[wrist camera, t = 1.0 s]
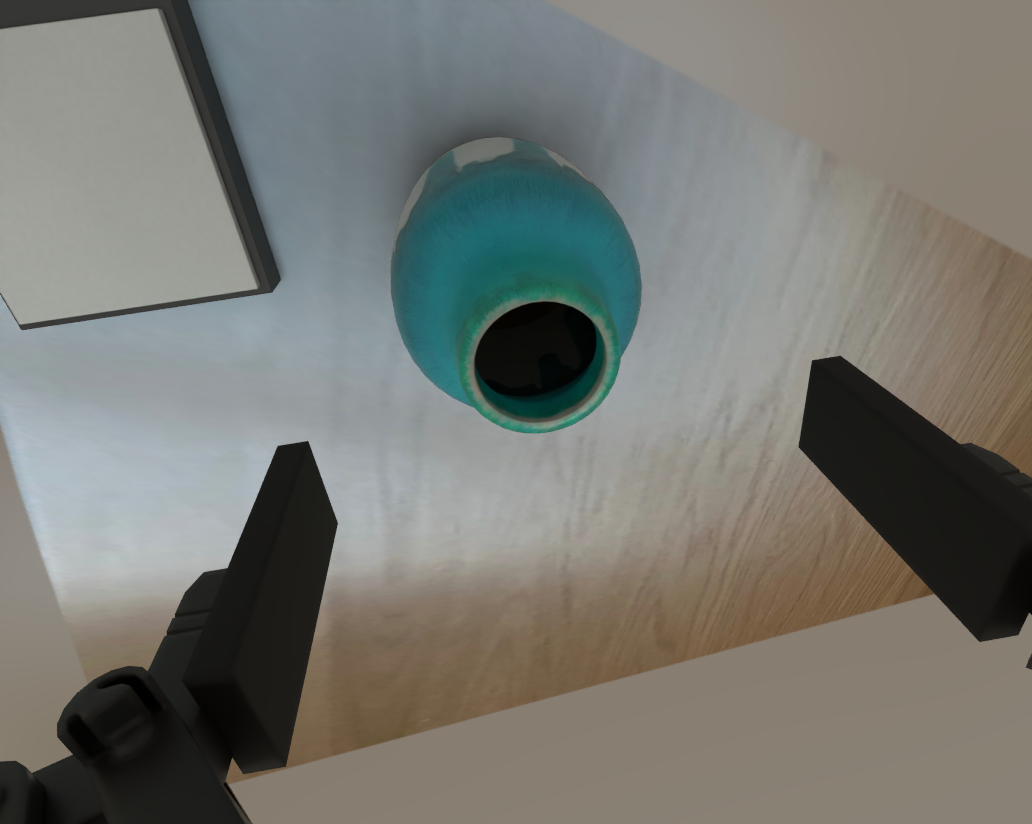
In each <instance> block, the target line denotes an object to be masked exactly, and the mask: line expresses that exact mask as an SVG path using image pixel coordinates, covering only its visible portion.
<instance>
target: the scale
mask: <svg viewBox="0 0 1032 824" xmlns="http://www.w3.org/2000/svg"><path fill="white" fill-rule="evenodd" d="M280 280H281V279H280V276H279V273H278V270H277V267H276V264H275V261H274V258H273V255H272V252H271V249H270V246H269V243H268V240H267V237H266V234H265V231H264V228H263V225H262V222H261V219H260V216H259V213H258V210H257V207H256V204H255V201H254V198H253V195H252V192H251V189H250V186H249V184H248V181H247V178H246V175H245V172H244V169H243V166H242V163H241V160H240V157H239V154H238V151H237V148H236V145H235V142H234V139H233V136H232V133H231V130H230V127H229V124H228V121H227V118H226V115H225V112H224V109H223V106H222V103H221V100H220V97H219V94H218V91H217V88H216V85H215V82H214V79H213V76H212V73H211V70H210V67H209V64H208V61H207V58H206V55H205V52H204V49H203V46H202V43H201V40H200V37H199V34H198V31H197V28H196V25H195V22H194V19H193V16H192V13H191V10H190V7H189V4H188V1H187V0H0V295H1V296H2V298H3V300H4V301H5V303H6V305H7V306H8V308H9V310H10V311H11V313H12V315H13V317H14V318H15V320H16V322H17V323H18V325H19V327H20V328H21V330H27V329H33V328H40V327H47V326H53V325H60V324H66V323H73V322H80V321H86V320H93V319H100V318H106V317H113V316H119V315H126V314H133V313H139V312H146V311H152V310H159V309H166V308H172V307H179V306H185V305H192V304H199V303H205V302H212V301H219V300H225V299H232V298H238V297H245V296H252V295H258V294H265V293H271V292H273V291H274V289H275V288H276V286H277V285H278V283H279V282H280Z"/></svg>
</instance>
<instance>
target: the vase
mask: <svg viewBox="0 0 1032 824" xmlns="http://www.w3.org/2000/svg"><path fill="white" fill-rule="evenodd" d="M641 290H642V283H641V274H640V265H639V262H638V258H637V255H636V251H635V248H634V245H633V242H632V239H631V237H630V235H629V233H628V231H627V229H626V227H625V225H624V223H623V221H622V219H621V217H620V216H619V214H618V213H617V211H616V210H615V209H614V207H613V206H612V204H611V203H610V201H609V200H608V199H607V197H606V196H605V195H604V194H603V192H602V191H601V190H600V189H599V188H598V187H597V186H596V185H595V184H594V183H593V182H592V181H591V180H590V179H589V178H588V177H587V176H586V175H585V174H584V173H582V172H581V171H580V170H579V169H578V168H577V167H575V166H574V165H573V164H571V163H570V162H568V161H567V160H566V159H564V158H563V157H561V156H560V155H558V154H556V153H555V152H553V151H551V150H548V149H546V148H544V147H542V146H540V145H538V144H535V143H531V142H528V141H524V140H520V139H516V138H505V137H493V138H482V139H478V140H475V141H471V142H467V143H465V144H463V145H460V146H458V147H456V148H454V149H452V150H450V151H449V152H447V153H446V154H444V155H443V156H441V157H440V158H438V159H437V160H436V161H435V162H434V163H433V164H432V165H431V166H430V167H429V168H428V169H427V170H426V171H425V172H424V174H423V175H422V176H421V178H420V179H419V180H418V182H417V183H416V184H415V186H414V187H413V189H412V191H411V193H410V195H409V197H408V199H407V201H406V203H405V205H404V207H403V210H402V213H401V216H400V219H399V222H398V225H397V229H396V234H395V240H394V247H393V253H392V260H391V295H392V301H393V307H394V312H395V318H396V322H397V325H398V328H399V331H400V334H401V337H402V339H403V342H404V344H405V346H406V348H407V350H408V352H409V354H410V355H411V357H412V359H413V360H414V362H415V363H416V364H417V366H418V367H419V368H420V370H421V371H422V372H423V373H424V375H425V376H426V377H427V378H428V379H429V380H430V381H431V382H433V383H434V384H435V385H436V386H437V387H438V388H439V389H441V390H442V391H444V392H445V393H447V394H448V395H450V396H451V397H452V398H454V399H456V400H458V401H460V402H463V403H465V404H467V405H469V406H471V407H474V408H475V409H476V410H477V411H478V412H479V413H480V414H481V415H482V416H484V417H485V418H487V419H488V420H490V421H491V422H493V423H495V424H497V425H499V426H501V427H503V428H506V429H509V430H512V431H516V432H522V433H545V432H552V431H556V430H560V429H563V428H565V427H568V426H570V425H573V424H575V423H576V422H578V421H580V420H582V419H583V418H585V417H586V416H587V415H589V414H590V413H591V412H593V411H594V410H595V409H596V408H597V407H598V406H599V405H600V404H601V403H602V401H603V400H604V399H605V397H606V396H607V395H608V393H609V391H610V389H611V388H612V386H613V384H614V382H615V379H616V376H617V374H618V370H619V365H620V358H621V357H622V355H623V353H624V351H625V349H626V348H627V346H628V344H629V342H630V340H631V337H632V335H633V332H634V329H635V327H636V324H637V320H638V316H639V311H640V306H641Z"/></svg>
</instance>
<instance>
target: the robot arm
mask: <svg viewBox="0 0 1032 824" xmlns="http://www.w3.org/2000/svg"><path fill="white" fill-rule="evenodd" d="M799 448H800V449H801V450H802V451H803V452H804V453H805V454H806V456H807V457H808V458H809V459H810V460H811V461H812V462H813V463H814V464H815V465H816V466H817V467H818V468H819V470H820V471H821V472H822V473H823V474H824V475H825V476H826V477H827V478H828V479H829V480H830V481H831V482H832V484H833V485H834V486H835V487H836V488H837V489H838V490H839V491H840V492H841V493H842V494H843V495H844V496H845V498H846V499H847V500H848V501H849V502H850V503H851V504H852V505H853V506H854V507H855V508H856V509H857V510H858V512H859V513H860V514H861V515H862V516H863V517H864V518H865V519H866V520H867V521H868V522H869V523H870V524H871V526H872V527H873V528H874V529H875V530H876V531H877V532H878V533H879V534H880V535H881V536H882V537H883V538H884V540H885V541H886V542H887V543H888V544H889V545H890V546H891V547H892V548H893V549H894V550H895V551H896V552H897V554H898V555H899V556H900V557H901V558H902V559H903V560H904V561H905V562H906V563H907V564H908V565H909V566H910V568H911V569H912V570H913V571H914V572H915V573H916V574H917V575H918V576H919V577H920V578H921V579H922V580H923V582H924V583H925V584H926V585H927V586H928V587H929V588H930V589H931V590H932V591H933V592H934V593H935V595H937V597H938V598H939V599H940V600H941V601H942V602H943V603H944V604H945V605H946V606H947V607H948V608H949V610H950V611H951V612H952V613H953V614H954V615H955V616H956V617H957V618H958V619H959V620H960V621H961V622H962V624H963V625H964V626H965V627H966V628H967V629H968V630H969V631H970V632H971V633H972V634H973V635H974V637H975V638H976V639H977V640H978V641H979V642H982V641H988V640H993V639H999V638H1005V637H1010V636H1016V635H1019V632H1020V630H1021V628H1022V626H1023V624H1024V622H1025V620H1026V618H1027V616H1028V614H1029V613H1030V614H1031V615H1032V478H1030V477H1029V476H1028V475H1026V474H1025V473H1020V471H1019V469H1018V468H1016V467H1015V466H1013V465H1012V464H1011V463H1009V462H1008V461H1006V460H1005V459H1004V458H1002V457H1001V456H999V455H998V454H995V453H993V452H991V451H988V450H986V449H984V448H981V447H979V446H977V445H974V444H972V443H966V444H959V443H958V442H956V441H955V440H954V439H952V438H951V437H950V436H948V435H947V434H946V433H944V432H943V431H941V430H940V429H939V428H937V427H936V426H935V425H933V424H932V423H931V422H929V421H928V420H927V419H925V418H924V417H923V416H921V415H920V414H918V413H917V412H916V411H914V410H913V409H912V408H910V407H909V406H908V405H906V404H905V403H904V402H902V401H901V400H900V399H898V398H897V397H895V396H894V395H893V394H891V393H890V392H889V391H887V390H886V389H885V388H883V387H882V386H881V385H879V384H878V383H877V382H875V381H874V380H872V379H871V378H870V377H868V376H867V375H866V374H864V373H863V372H862V371H860V370H859V369H858V368H856V367H855V366H854V365H852V364H851V363H849V362H848V361H847V360H845V359H844V358H843V357H841V356H837V357H830V358H824V359H818V360H812V364H811V370H810V377H809V383H808V390H807V396H806V403H805V409H804V415H803V422H802V428H801V435H800V441H799ZM337 525H338V522H337V520H336V517H335V514H334V511H333V509H332V506H331V503H330V500H329V497H328V495H327V492H326V489H325V486H324V484H323V481H322V478H321V475H320V472H319V470H318V467H317V464H316V461H315V459H314V456H313V453H312V450H311V447H310V445H309V442H308V441H306V442H300V443H293V444H287V445H281V446H278V447H277V449H276V452H275V454H274V456H273V459H272V461H271V464H270V466H269V469H268V471H267V474H266V476H265V478H264V481H263V483H262V486H261V488H260V491H259V493H258V495H257V498H256V500H255V503H254V505H253V508H252V510H251V513H250V515H249V517H248V520H247V522H246V525H245V527H244V530H243V532H242V534H241V537H240V539H239V542H238V544H237V547H236V549H235V551H234V554H233V556H232V559H231V561H230V564H229V566H228V568H226V569H220V570H214V571H208V572H203V574H202V575H201V576H200V577H199V578H198V579H197V580H196V581H195V582H194V583H193V584H192V586H191V587H190V588H189V589H188V590H187V591H186V592H185V594H184V596H183V598H182V600H181V602H180V604H179V606H178V609H177V611H176V613H175V618H173V619H172V621H171V623H170V625H169V628H168V630H167V636H164V638H163V640H162V642H161V645H160V647H159V649H158V651H157V653H156V655H155V657H154V659H153V662H152V664H151V666H150V668H149V670H148V671H147V670H145V669H144V668H143V667H135V666H127V667H123V668H119V669H115V670H111V671H110V672H108V673H106V674H104V675H102V676H100V677H98V678H96V679H94V680H93V681H92V682H90V683H89V684H88V685H87V686H85V687H84V688H83V689H81V690H80V691H79V692H78V693H77V694H76V695H75V696H74V697H73V698H72V700H71V701H70V702H69V703H68V705H67V706H66V707H65V708H64V710H63V712H62V714H61V717H60V719H59V721H58V723H57V737H58V738H59V739H60V740H61V741H62V743H63V744H64V745H65V746H66V747H67V748H68V749H69V750H70V751H71V753H72V754H73V755H71V756H69V757H67V758H65V759H62V760H60V761H58V762H56V763H54V764H51V765H49V766H47V767H45V768H42V769H41V770H38V771H36V772H33V773H31V772H30V771H29V770H28V769H27V768H26V767H25V766H23V765H22V764H20V763H18V762H17V761H4V762H0V824H252V822H251V820H250V819H249V818H248V816H247V814H246V812H245V811H244V809H243V808H242V806H241V805H240V803H239V801H238V800H237V798H236V796H235V795H234V793H233V792H232V790H231V788H230V787H229V785H228V784H227V783H226V781H225V780H226V776H227V773H228V770H229V766H230V763H231V759H232V758H233V759H234V761H235V762H236V764H237V765H238V767H239V768H240V770H241V771H242V773H243V774H247V773H253V772H258V771H264V770H269V769H275V768H281V767H286V763H287V759H288V754H289V749H290V745H291V740H292V735H293V731H294V726H295V721H296V717H297V712H298V707H299V703H300V698H301V693H302V688H303V684H304V679H305V674H306V670H307V665H308V660H309V656H310V651H311V646H312V642H313V637H314V632H315V628H316V623H317V618H318V614H319V609H320V604H321V600H322V595H323V590H324V586H325V581H326V576H327V571H328V567H329V562H330V557H331V553H332V548H333V543H334V539H335V534H336V529H337ZM1026 668H1029V669H1032V654H1031V656H1030V658H1029V660H1028V663H1027V666H1026Z"/></svg>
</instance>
